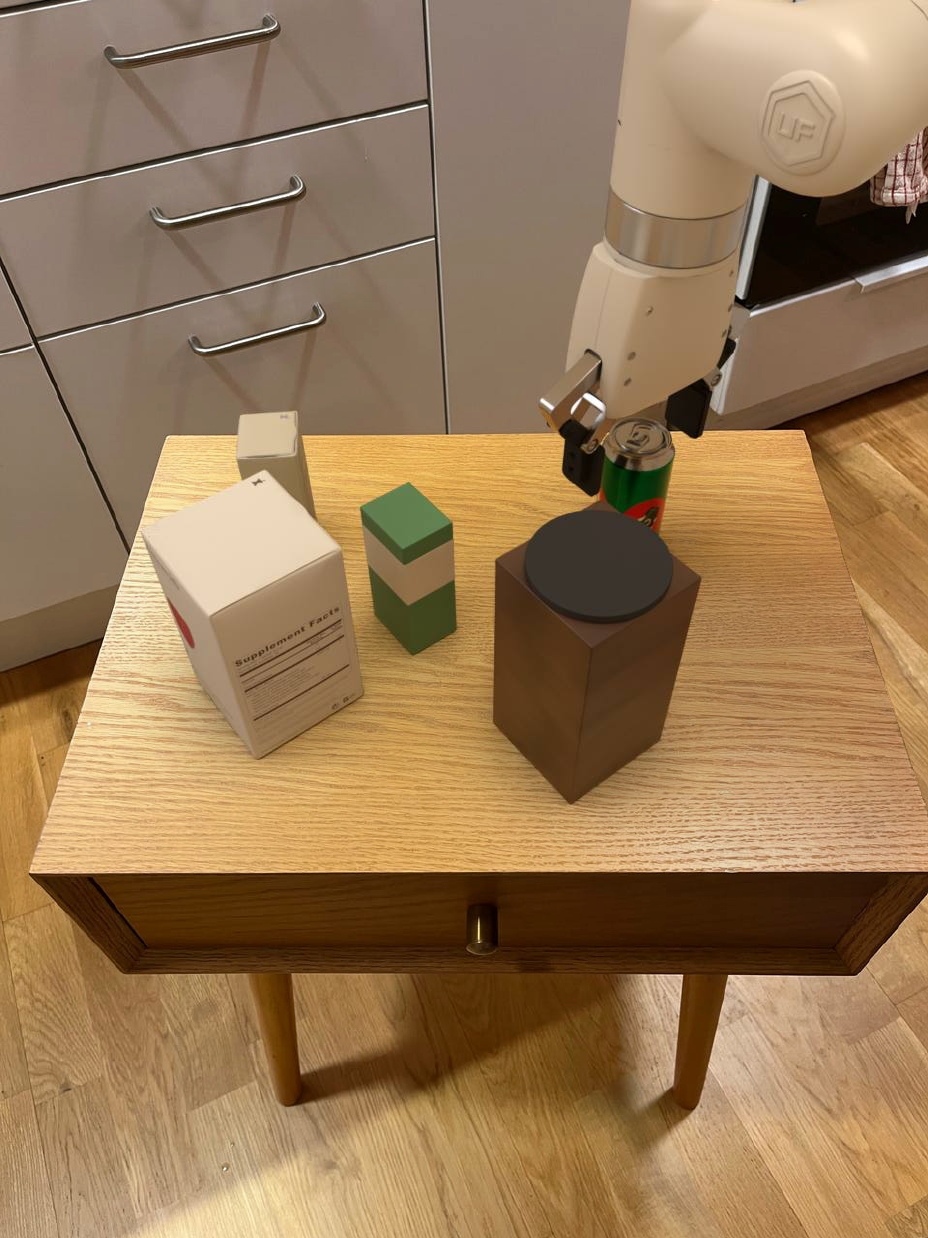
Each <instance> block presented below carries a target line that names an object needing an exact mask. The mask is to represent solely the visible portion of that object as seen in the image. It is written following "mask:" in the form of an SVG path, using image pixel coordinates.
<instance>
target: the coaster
mask: <svg viewBox="0 0 928 1238" xmlns="http://www.w3.org/2000/svg"><path fill="white" fill-rule="evenodd" d="M581 510H582V511H581ZM581 510H577V511H571V512H567V513H565V514H562V515H558V516H555V517H554V518H552V519H550V520H549V521H547V522H545V523H544V524H543V525H542V526H540V528H538V529H537V530H536V531H535V532H534V533H533V535H532V536H531V537H530V539H529V540H530V541H529V543H528V545H527V548H526V552H525V565H524V568H525V575H526V578H527V581H528V583H529V585H530V587H531V589H532V590H533V592H534V593H535V594H536V596H537V597H538V598H539V599H540V600H541V601H542V602H543V603H545V604H546V605H547V606H548V607H550V608H551V609H553V610H555V611H556V612H558V613H560V614H562V615H564V616H567V617H570V618H573V619H576V620H580V621H584V622H591V623H616V622H622V621H627V620H630V619H634V618H636V617H639V616H641V615H643V614H645V613H646V612H648V611H650V610H651V609H652V608H654V607H655V606H656V605H657V604H658V603H659V602H660V601H661V600H662V599H663V598H664V596H665V595H666V593H667V591H668V589H669V587H670V583H671V579H672V575H673V561H672V557H671V554H670V552H671V550H669V547H668V546H667V544H666V542H665V540H664V539H663V538H662V537H661V536H660V534H659V535H658V534H657V533H656V532H655V531H654V530H653V529H651V528H650V527H648V526H647V525H646V524H644V523H642V522H640V521H639V520H637V519H634V518H632V517H630V516H627V515H624V514H620V513H616V512H611V511H604V510H583V509H581Z"/></svg>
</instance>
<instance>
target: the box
mask: <svg viewBox="0 0 928 1238" xmlns="http://www.w3.org/2000/svg"><path fill="white" fill-rule="evenodd" d="M236 436H237V437H236V449H235V453H236V454H235V460H236V463H237V468H238V471H239V475H240V479H241V481H243V480H245V479H247V478H249V477H251V476H253V475H255V474H257V473H259V472H261V471H263V470H266V471H268V472H269V473H270V474H271V475H272V476H273V477H274V478H275V479H276V480H277V481H278V482H279V484H280V485H281V486H282V487H283V488H284V489H285V490H286V491H287V492H288V493H289V494H290V495H291V496H292V497H293V498H294V499H295V500H296V501H298V502H299V503H300V504H301V505H302V506H303V507H304V508H305V509H306V510H307V512H308V513H309V515H310V516H311V517H312V518H313V519H314V520H315V521H316V522H317V523H318V521H317V520H318V519H317V513H316V507H315V502H314V496H313V490H312V485H311V478H310V473H309V466H308V462H307V457H306V456H307V455H306V451H305V445H304V439H303V434H302V430H301V423H300V419H299V414H298V411H297V410H289V411H275V412H274V411H273V412H258V413H247V414H246V413H245V414H240V415H239V420H238V427H237V435H236Z"/></svg>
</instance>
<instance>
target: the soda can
mask: <svg viewBox="0 0 928 1238" xmlns="http://www.w3.org/2000/svg"><path fill="white" fill-rule="evenodd" d="M601 445H602V446H603V447H604V448H605V459H604V466H603V473H602V480H601V487H600V490H599V493H598V494H596V495H595V500H594V503H595V502H597V501H599V500H600V499H603V500H605V501H606V502H607V503H608V504H610V505H611V506H612V507H614V508H615V509H616V510H617V511H619V512H620V513H621V514H624V515H627V516H630V517H632V518H634V519H637V520H639V521H640V522H642V523H644V524H646V525H647V526H648V527H650V528H651V529H653V530H654V531H655V532H656V533H657V534H658V535H659V536H660V534H661V528H662V525H663V524H662V523H663V518H664V513H665V509H666V508H665V507H666V503H667V498H668V493H669V488H670V482H671V479H672V478H671V477H672V472H673V468H674V462H675V457H676V448H675V445H674V443H673V437H672V434H671V432H670V430H669V429H668V427H666V426H665V425H664V424H662V423H661V422H659V421H657V420H654V419H651V418H647V417H638V416H637V417H636V416H635V417H627V418H625V419H624V418H623V419H621V420H619V421H617V422H616V423H614V424H613V425H612V427H611V428H610V430H609V431H608V433H607V434H606V436H605V437H604V439H603V440H602V442H601Z"/></svg>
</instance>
